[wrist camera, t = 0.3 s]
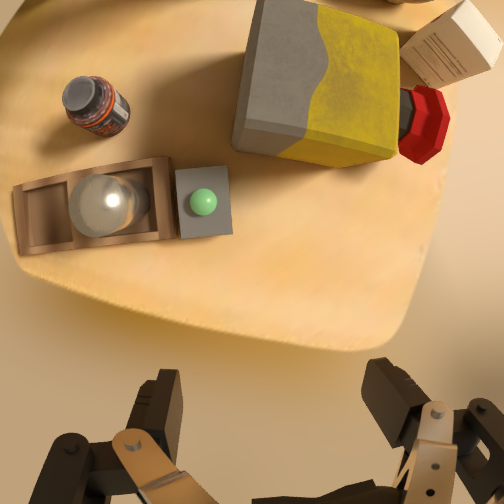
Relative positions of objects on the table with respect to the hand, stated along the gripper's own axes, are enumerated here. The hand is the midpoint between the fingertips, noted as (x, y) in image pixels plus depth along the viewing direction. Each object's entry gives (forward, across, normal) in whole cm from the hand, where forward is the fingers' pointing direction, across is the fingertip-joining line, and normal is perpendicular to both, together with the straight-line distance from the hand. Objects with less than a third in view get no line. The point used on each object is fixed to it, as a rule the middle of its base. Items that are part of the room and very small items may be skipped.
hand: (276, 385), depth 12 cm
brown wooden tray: (+29, +20, -5) cm, 36 cm away
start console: (+29, +4, -6) cm, 30 cm away
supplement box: (+31, -30, -32) cm, 54 cm away
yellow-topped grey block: (+30, -11, -18) cm, 37 cm away
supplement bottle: (+29, +18, -18) cm, 38 cm away
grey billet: (+28, +15, -6) cm, 32 cm away
